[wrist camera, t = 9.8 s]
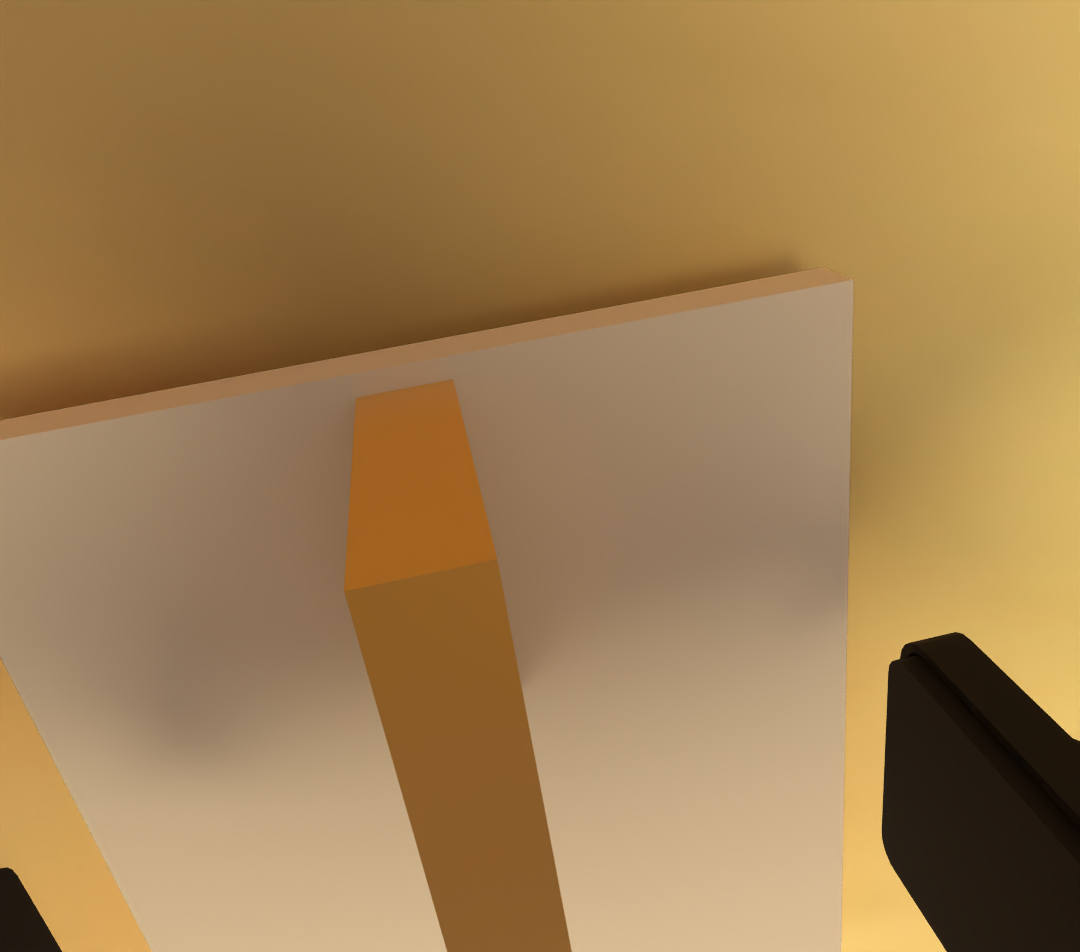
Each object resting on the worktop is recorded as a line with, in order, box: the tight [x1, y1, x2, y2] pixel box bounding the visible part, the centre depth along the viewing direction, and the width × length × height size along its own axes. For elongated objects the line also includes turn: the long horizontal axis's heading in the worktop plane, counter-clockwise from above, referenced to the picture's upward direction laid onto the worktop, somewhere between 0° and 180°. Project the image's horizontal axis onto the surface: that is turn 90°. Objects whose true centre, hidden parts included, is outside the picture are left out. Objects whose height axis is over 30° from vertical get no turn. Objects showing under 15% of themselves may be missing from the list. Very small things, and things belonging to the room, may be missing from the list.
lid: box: [0, 267, 854, 952], centre depth 13 cm, size 15×12×6 cm
